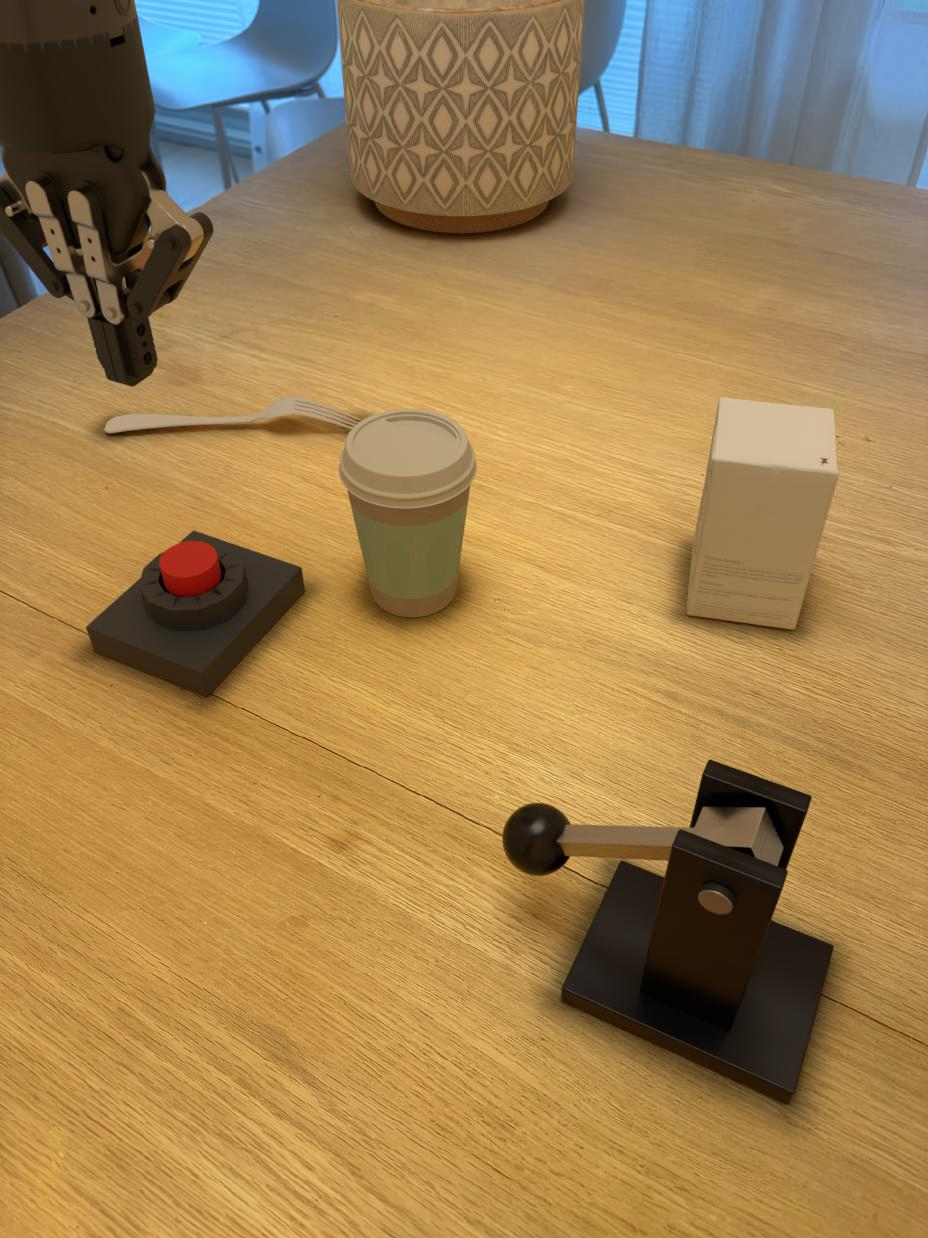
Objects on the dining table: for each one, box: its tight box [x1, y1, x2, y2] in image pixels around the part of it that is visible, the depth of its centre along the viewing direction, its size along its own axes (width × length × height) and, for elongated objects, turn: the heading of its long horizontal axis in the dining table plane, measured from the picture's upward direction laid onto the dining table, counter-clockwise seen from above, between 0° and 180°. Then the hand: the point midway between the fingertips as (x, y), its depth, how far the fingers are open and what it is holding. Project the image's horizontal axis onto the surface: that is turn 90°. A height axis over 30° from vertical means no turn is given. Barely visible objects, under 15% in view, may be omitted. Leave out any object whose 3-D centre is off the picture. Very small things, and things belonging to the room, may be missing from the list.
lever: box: [501, 802, 783, 877], centre depth 47 cm, size 13×3×3 cm, turn 63°
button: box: [159, 541, 221, 597], centre depth 67 cm, size 4×4×2 cm
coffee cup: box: [338, 408, 478, 618], centre depth 68 cm, size 9×9×12 cm
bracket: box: [560, 759, 835, 1105], centre depth 47 cm, size 11×8×13 cm
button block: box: [85, 530, 306, 698], centre depth 68 cm, size 11×9×4 cm
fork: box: [103, 396, 361, 434], centre depth 87 cm, size 3×21×3 cm, turn 91°
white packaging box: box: [686, 396, 840, 630], centre depth 68 cm, size 7×7×13 cm
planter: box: [336, 0, 586, 234], centre depth 115 cm, size 26×26×22 cm
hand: (132, 376), depth 56 cm, fingers closed
